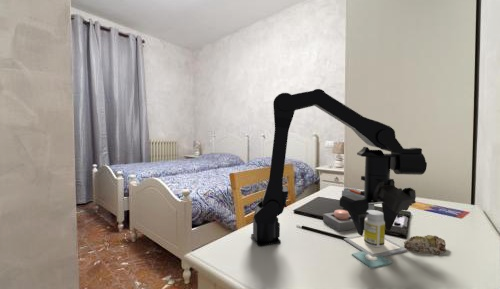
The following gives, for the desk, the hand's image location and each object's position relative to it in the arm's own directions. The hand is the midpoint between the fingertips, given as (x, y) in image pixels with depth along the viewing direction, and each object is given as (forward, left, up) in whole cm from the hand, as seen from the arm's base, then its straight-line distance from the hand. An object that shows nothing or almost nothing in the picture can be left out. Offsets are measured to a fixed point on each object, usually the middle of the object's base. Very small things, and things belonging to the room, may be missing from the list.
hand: (374, 232), depth 64 cm
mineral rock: (+11, -5, -4) cm, 13 cm away
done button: (+1, +14, -2) cm, 14 cm away
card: (-6, -5, -4) cm, 9 cm away
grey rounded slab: (+14, +22, -4) cm, 26 cm away
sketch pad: (0, 0, -4) cm, 4 cm away
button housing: (+1, +14, -4) cm, 14 cm away
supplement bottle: (0, 0, -3) cm, 3 cm away
